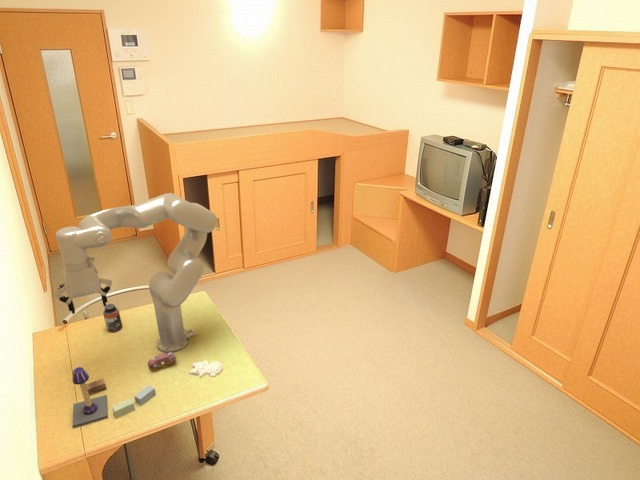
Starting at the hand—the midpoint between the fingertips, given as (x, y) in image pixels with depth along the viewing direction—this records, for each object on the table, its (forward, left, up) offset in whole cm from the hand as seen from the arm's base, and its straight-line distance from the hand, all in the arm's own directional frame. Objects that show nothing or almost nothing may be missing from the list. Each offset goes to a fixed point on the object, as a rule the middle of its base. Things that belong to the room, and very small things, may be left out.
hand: (89, 308), depth 151 cm
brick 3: (-12, +20, -28) cm, 36 cm away
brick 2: (-5, +23, -28) cm, 37 cm away
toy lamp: (+5, +19, -27) cm, 33 cm away
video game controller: (-20, +5, -28) cm, 35 cm away
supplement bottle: (-4, -27, -28) cm, 39 cm away
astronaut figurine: (-34, +14, -28) cm, 46 cm away
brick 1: (+3, +9, -28) cm, 30 cm away
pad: (+5, +19, -28) cm, 34 cm away
